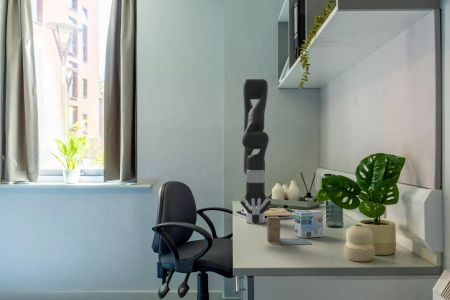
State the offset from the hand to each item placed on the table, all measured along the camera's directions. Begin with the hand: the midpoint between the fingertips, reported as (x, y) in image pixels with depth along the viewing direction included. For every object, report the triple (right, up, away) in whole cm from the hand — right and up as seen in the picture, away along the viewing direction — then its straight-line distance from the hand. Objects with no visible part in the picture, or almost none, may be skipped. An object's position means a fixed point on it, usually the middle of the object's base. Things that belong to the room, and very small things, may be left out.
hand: (255, 223), depth 163 cm
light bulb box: (+24, -7, +10) cm, 27 cm away
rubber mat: (+16, -8, +1) cm, 18 cm away
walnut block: (+7, -8, 0) cm, 11 cm away
